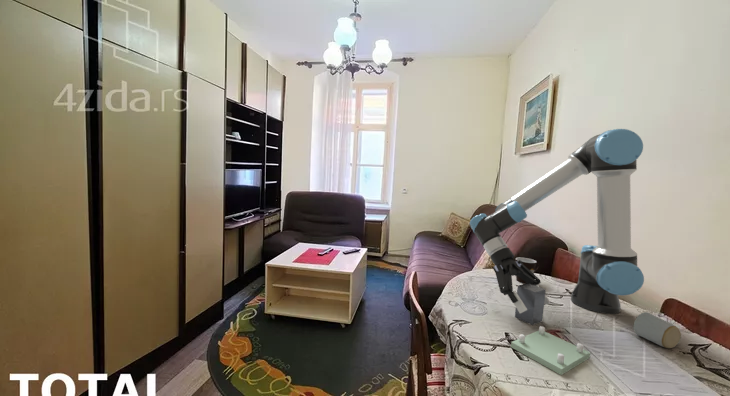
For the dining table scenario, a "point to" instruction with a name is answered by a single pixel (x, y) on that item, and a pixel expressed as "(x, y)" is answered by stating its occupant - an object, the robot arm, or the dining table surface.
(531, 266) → the coffee mug
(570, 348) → the pin plate
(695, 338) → the dining table surface
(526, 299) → the block
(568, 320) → the dining table surface
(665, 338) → the grey cylinder
